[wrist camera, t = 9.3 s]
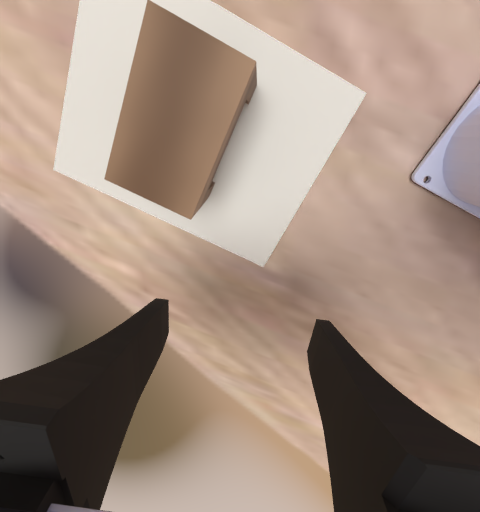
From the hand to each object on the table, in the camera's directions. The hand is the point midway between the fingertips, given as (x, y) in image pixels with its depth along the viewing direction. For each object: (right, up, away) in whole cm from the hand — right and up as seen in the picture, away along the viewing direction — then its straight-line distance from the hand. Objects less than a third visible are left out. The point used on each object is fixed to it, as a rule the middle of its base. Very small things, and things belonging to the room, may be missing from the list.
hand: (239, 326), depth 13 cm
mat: (-3, +12, +6) cm, 14 cm away
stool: (-3, +12, +5) cm, 14 cm away
